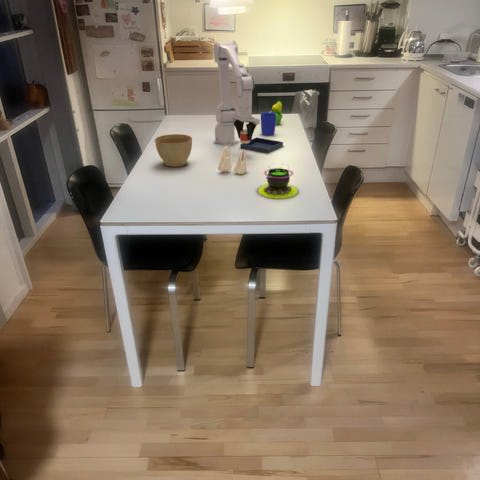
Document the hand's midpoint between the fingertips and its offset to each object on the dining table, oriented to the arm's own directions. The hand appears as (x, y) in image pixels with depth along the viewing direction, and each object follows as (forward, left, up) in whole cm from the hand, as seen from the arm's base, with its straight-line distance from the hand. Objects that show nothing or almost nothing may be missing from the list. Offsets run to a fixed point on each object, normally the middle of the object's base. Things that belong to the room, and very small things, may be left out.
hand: (245, 138), depth 216 cm
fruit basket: (-20, +60, -8) cm, 63 cm away
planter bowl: (-19, -27, -8) cm, 34 cm away
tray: (0, +15, -7) cm, 16 cm away
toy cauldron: (+36, -31, -8) cm, 48 cm away
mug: (-11, +39, -8) cm, 41 cm away
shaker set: (+9, -23, -8) cm, 26 cm away
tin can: (0, 0, -1) cm, 1 cm away
